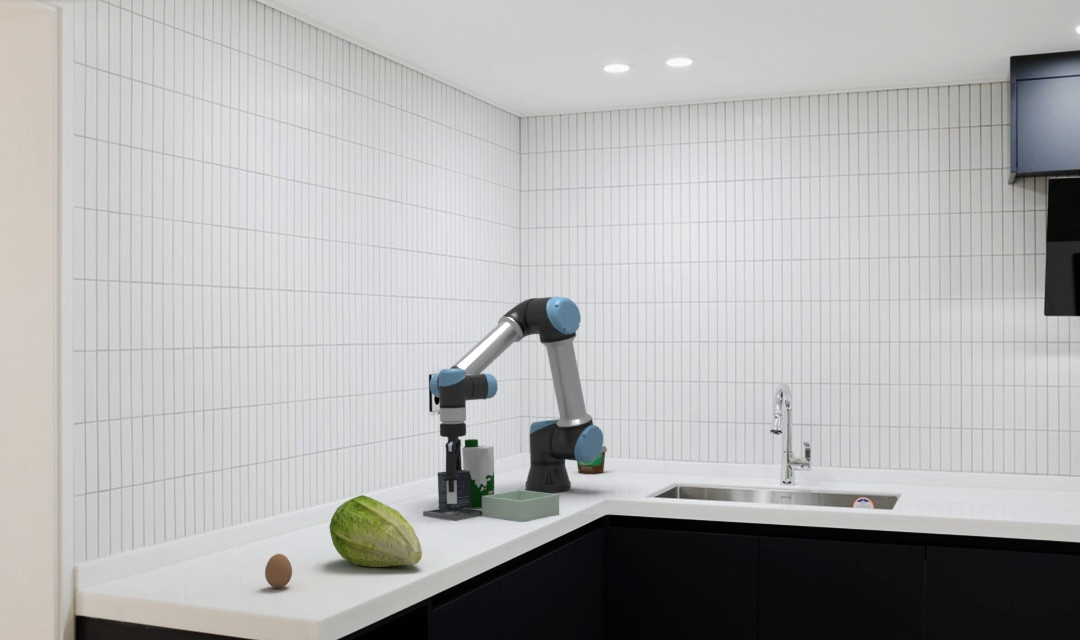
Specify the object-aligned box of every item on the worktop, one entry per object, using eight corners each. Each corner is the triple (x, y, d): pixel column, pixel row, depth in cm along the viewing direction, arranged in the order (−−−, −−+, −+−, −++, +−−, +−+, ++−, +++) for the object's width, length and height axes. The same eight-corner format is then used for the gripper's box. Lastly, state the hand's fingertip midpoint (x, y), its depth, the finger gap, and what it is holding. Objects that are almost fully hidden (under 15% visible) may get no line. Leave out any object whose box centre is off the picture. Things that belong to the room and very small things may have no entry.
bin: (519, 508, 313) (519, 489, 313) (559, 514, 302) (558, 494, 302) (482, 515, 301) (481, 496, 301) (521, 521, 291) (521, 501, 291)
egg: (259, 590, 216) (259, 555, 216) (275, 584, 221) (275, 550, 221) (282, 592, 214) (281, 557, 214) (297, 585, 219) (297, 552, 219)
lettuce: (437, 580, 238) (385, 600, 226) (364, 536, 253) (311, 553, 241) (446, 520, 235) (394, 537, 223) (372, 478, 249) (319, 493, 237)
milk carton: (468, 503, 324) (467, 438, 324) (497, 504, 322) (496, 438, 323) (460, 508, 315) (459, 441, 316) (490, 508, 314) (489, 441, 314)
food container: (572, 474, 389) (571, 447, 389) (574, 472, 395) (574, 445, 395) (605, 474, 387) (605, 447, 387) (607, 472, 393) (606, 445, 393)
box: (461, 505, 308) (460, 469, 308) (471, 507, 303) (470, 470, 303) (438, 508, 303) (437, 471, 303) (448, 510, 298) (447, 473, 299)
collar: (452, 510, 312) (452, 506, 312) (484, 515, 303) (484, 510, 303) (423, 515, 303) (423, 511, 303) (455, 520, 294) (455, 516, 294)
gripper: (445, 419, 315) (446, 494, 314) (433, 426, 293) (435, 507, 292) (470, 418, 314) (471, 494, 314) (460, 425, 292) (462, 506, 292)
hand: (454, 500), depth 303 cm, fingers closed on box, 9 cm apart
